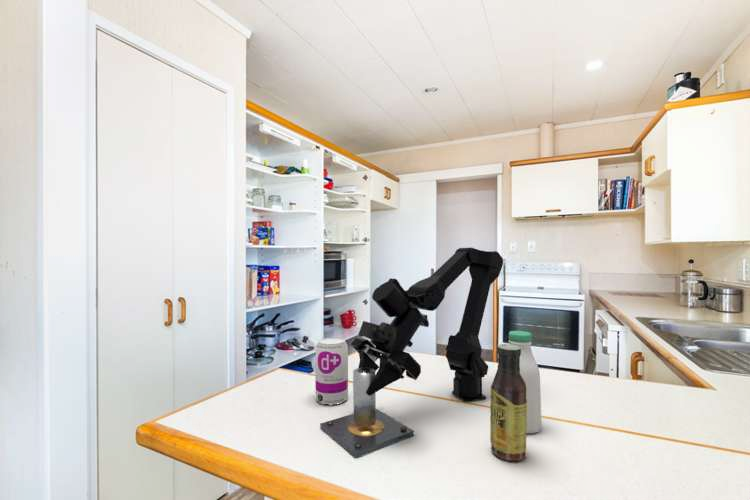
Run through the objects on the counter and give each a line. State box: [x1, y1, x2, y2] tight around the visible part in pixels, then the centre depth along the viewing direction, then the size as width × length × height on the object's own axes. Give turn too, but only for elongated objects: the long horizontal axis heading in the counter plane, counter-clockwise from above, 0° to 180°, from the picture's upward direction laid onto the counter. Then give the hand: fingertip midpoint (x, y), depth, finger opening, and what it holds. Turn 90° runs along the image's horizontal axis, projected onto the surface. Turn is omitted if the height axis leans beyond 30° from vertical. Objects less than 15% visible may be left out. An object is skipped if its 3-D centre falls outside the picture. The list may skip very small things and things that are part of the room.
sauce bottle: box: [489, 343, 527, 462], centre depth 66 cm, size 6×6×20 cm
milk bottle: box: [508, 330, 542, 434], centre depth 76 cm, size 8×8×20 cm
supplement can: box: [314, 337, 349, 405], centre depth 91 cm, size 8×8×15 cm
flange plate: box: [319, 408, 415, 459], centre depth 74 cm, size 14×14×1 cm
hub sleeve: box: [352, 368, 377, 427], centre depth 74 cm, size 5×5×11 cm
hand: (361, 390), depth 74 cm, fingers closed on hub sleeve, 5 cm apart
